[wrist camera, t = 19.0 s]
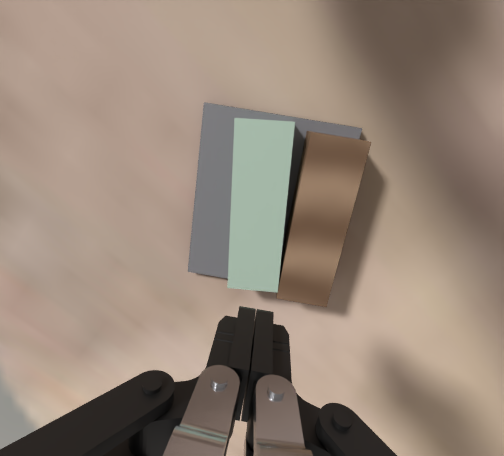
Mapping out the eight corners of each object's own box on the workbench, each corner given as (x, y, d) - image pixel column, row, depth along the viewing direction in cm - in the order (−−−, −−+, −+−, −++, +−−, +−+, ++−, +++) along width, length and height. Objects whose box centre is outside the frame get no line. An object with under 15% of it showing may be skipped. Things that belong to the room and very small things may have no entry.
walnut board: (306, 130, 30) (311, 132, 26) (359, 139, 30) (371, 142, 26) (276, 279, 35) (276, 298, 31) (321, 286, 35) (326, 307, 31)
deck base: (206, 102, 30) (203, 102, 30) (359, 128, 30) (362, 128, 29) (190, 267, 36) (187, 271, 35) (317, 290, 36) (318, 294, 35)
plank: (239, 118, 30) (234, 117, 26) (292, 121, 29) (295, 121, 26) (232, 269, 35) (227, 287, 31) (277, 273, 35) (277, 292, 31)
